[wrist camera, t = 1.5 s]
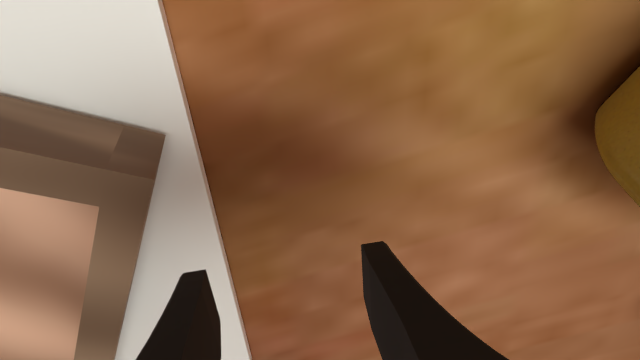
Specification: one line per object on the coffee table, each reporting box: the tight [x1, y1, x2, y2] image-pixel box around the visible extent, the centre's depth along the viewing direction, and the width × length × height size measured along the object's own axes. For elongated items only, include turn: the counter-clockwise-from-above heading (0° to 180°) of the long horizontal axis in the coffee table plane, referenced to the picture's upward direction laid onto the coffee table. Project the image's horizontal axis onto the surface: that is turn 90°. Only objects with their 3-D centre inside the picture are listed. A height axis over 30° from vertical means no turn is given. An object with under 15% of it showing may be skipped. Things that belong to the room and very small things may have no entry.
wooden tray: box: [0, 95, 166, 360], centre depth 19 cm, size 15×9×4 cm, turn 160°
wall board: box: [0, 0, 252, 360], centre depth 21 cm, size 21×18×1 cm
